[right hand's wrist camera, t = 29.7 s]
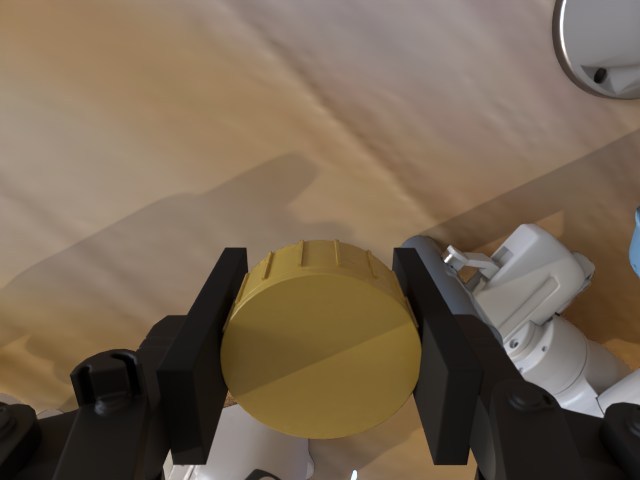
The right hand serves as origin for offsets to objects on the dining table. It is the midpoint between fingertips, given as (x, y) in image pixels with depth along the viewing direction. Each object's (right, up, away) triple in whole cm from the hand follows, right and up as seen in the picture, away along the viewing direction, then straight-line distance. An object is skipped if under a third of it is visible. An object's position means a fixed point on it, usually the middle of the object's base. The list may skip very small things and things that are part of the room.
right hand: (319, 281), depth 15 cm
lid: (0, -2, -4) cm, 4 cm away
